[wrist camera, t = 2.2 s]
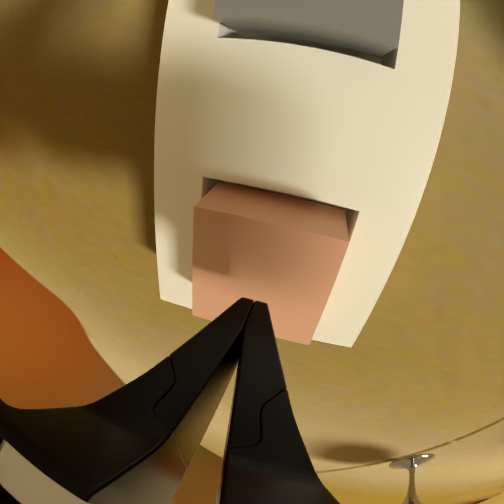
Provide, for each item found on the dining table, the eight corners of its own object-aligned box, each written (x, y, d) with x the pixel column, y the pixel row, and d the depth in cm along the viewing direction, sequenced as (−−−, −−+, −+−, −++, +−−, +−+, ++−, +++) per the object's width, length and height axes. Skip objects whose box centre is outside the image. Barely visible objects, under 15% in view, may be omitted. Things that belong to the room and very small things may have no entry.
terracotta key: (344, 209, 11) (349, 241, 8) (313, 305, 13) (309, 345, 11) (218, 181, 11) (193, 206, 9) (211, 280, 14) (192, 315, 12)
